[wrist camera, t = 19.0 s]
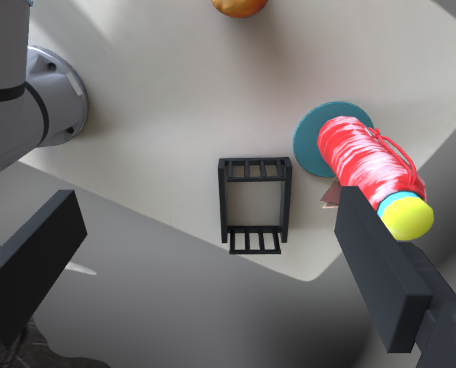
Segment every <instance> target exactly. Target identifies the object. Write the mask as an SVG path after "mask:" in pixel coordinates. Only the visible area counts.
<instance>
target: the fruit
mask: <svg viewBox="0 0 456 368" xmlns="http://www.w3.org/2000/svg"><path fill="white" fill-rule="evenodd" d="M267 1H268V0H212V3H213V5H214V7H215V8H216V9H218V10H219V11H220V12H221V13H223V14H225V15H228V16H230V17H235V18H245V17H249V16H252V15H254V14H256V13H257V12H259V11H260V10H261V9H262V8H263V7H264V6H265V4H266V3H267Z"/></svg>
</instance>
